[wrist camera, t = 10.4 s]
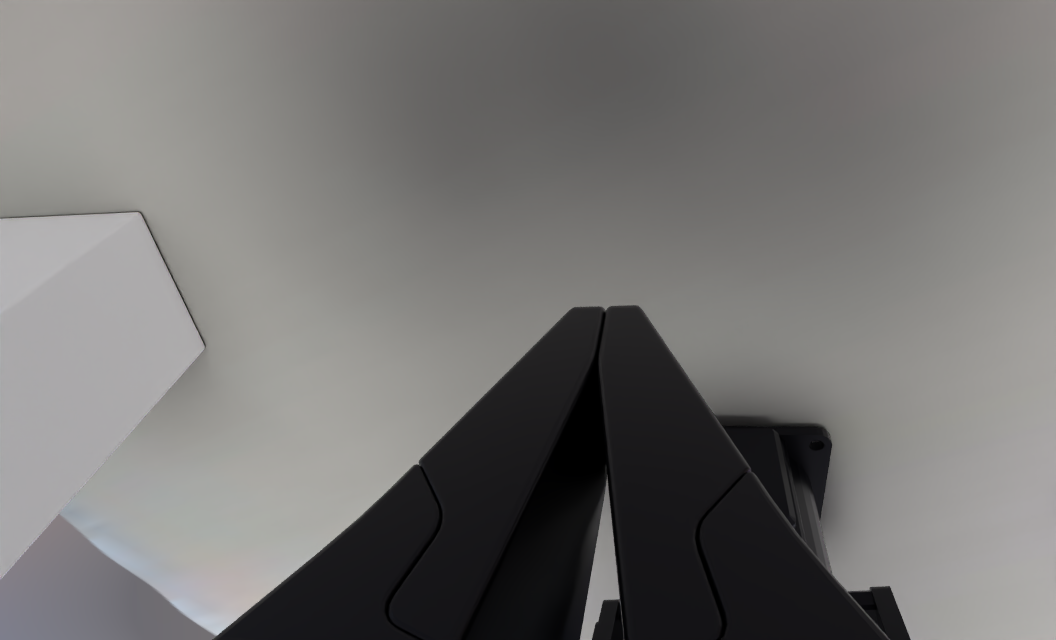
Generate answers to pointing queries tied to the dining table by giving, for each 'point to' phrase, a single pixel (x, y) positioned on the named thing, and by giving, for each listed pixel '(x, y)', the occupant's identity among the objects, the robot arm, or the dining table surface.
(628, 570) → the robot arm
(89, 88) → the dining table surface
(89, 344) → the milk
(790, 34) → the dining table surface
